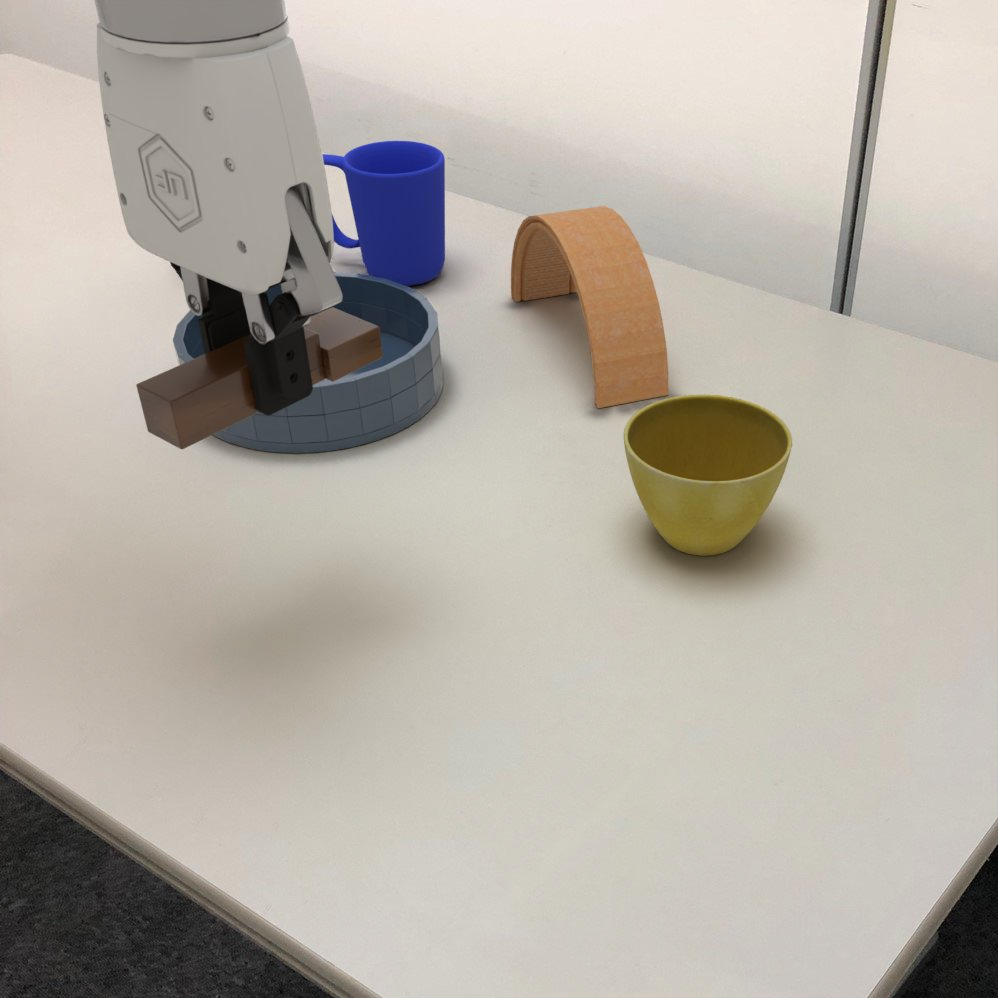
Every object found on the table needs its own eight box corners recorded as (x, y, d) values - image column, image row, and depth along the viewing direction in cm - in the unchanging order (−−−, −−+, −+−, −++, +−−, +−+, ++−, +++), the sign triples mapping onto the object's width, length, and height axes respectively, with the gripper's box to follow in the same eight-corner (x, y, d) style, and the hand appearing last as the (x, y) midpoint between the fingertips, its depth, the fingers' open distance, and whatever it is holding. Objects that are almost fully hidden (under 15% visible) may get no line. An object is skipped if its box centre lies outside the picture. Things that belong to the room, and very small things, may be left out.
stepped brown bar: (141, 428, 61) (128, 380, 59) (336, 337, 69) (330, 292, 67) (188, 454, 59) (177, 405, 57) (383, 357, 67) (378, 312, 65)
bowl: (135, 398, 91) (118, 334, 88) (324, 311, 103) (315, 252, 100) (309, 483, 83) (298, 416, 80) (494, 378, 95) (490, 316, 92)
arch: (576, 287, 107) (574, 169, 101) (668, 395, 93) (673, 266, 87) (511, 296, 106) (505, 177, 99) (595, 408, 92) (595, 278, 85)
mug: (348, 242, 114) (332, 129, 107) (469, 263, 111) (461, 147, 104) (300, 278, 108) (281, 160, 101) (426, 300, 105) (415, 180, 98)
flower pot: (738, 601, 74) (747, 499, 70) (592, 550, 78) (592, 450, 74) (806, 518, 81) (818, 420, 77) (668, 474, 85) (672, 379, 80)
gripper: (-5, -23, 53) (102, 370, 65) (248, 53, 46) (316, 480, 58) (145, -51, 58) (219, 320, 70) (396, 14, 50) (431, 416, 62)
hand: (262, 390), depth 63 cm, fingers closed on stepped brown bar, 2 cm apart
